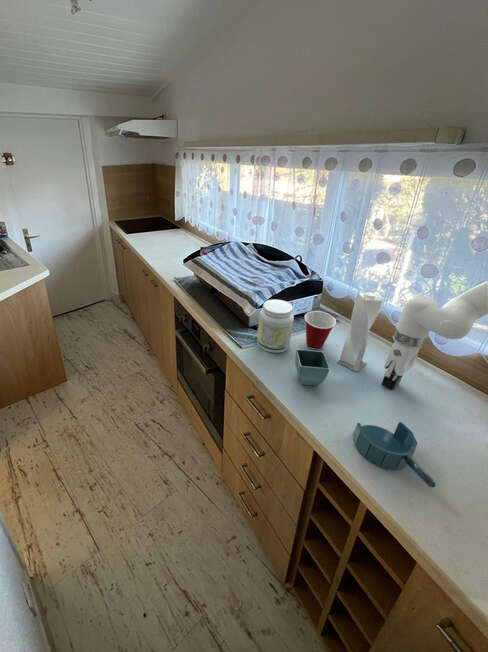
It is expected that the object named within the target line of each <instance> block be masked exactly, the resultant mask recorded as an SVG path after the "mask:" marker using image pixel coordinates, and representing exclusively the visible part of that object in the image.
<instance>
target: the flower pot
mask: <svg viewBox="0 0 488 652" xmlns="http://www.w3.org/2000/svg"><path fill="white" fill-rule="evenodd" d="M294 361H295V369H296V374H297V378H298V382H299V383H300V385H303V386H304V385H305V386H313V387H314V386H315V387H316V386H319V385H322V383H324V382H325V380H326V378H327V377H328V375H329V372H330V370H331V367H330V364H329V361H328V358H327V356H326V353H325V351H322V350H310V349H300V348H299V349H298V348H297V349H295V360H294Z"/></svg>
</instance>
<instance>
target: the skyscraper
mask: <svg viewBox="0 0 488 652" xmlns="http://www.w3.org/2000/svg"><path fill="white" fill-rule="evenodd" d="M360 291H362V292H360ZM383 303H384V298H383V297H382V296H381V295H380V293H379V292H377V291H375V292H369V291H367V292H365V289H364V288H363V287H362V286H361V285H359V286H358V287H357V294H356V297H355V300H354V304H353V308H352V312H351V318H350V324H349V325H350V326H349V327H350V328H349V331H348V333H347V335H346V338H345V340H344V344H343V347H342V350H341V354H340V357H339V359H338V360H337V361H336V364H338V365H340V366H342V367H345V368H346V369H348V370H350V371H352V372H355V373H359V372H360V371H361V370H362V369H363V368H364V367H365V366H366V365H367V362H365V361H363V359H364V357H365V353H366V349H367V346H368V342H369V336H370V335H369V333H370V329H372V326H373V325H374V323H375V322H376V320H377V318H378V315H379V313H380V310H381V308H382V305H383Z"/></svg>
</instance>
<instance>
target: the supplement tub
mask: <svg viewBox="0 0 488 652" xmlns="http://www.w3.org/2000/svg"><path fill="white" fill-rule="evenodd" d="M293 310H294V307H293V305H292V304H291V303H290V302H288V301H286V300H282V299H268V300H266V301H264V302H263V304H262V309H261V310H260V311H259V315H258V325H257V332H256V333H257V335H256V343H257V345H258V346H259V348H261V350H263V351H266V352H269V353H272V354H273V353H274V354H278V353H279V354H280V353H283V352H285V351H286V350H288V349H289V346H290V343H291V336H292V331H293V326H294V320H295V317H294V311H293Z"/></svg>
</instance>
